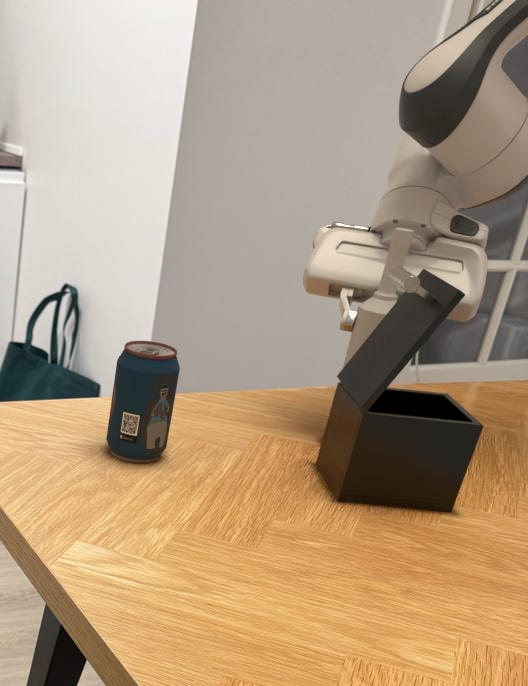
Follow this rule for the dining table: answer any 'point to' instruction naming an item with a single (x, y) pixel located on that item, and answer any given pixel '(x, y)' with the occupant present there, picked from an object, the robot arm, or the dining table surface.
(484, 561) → the dining table surface
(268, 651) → the dining table surface
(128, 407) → the soda can
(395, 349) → the bin lid
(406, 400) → the bin
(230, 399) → the dining table surface
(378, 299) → the white round tapered piece
